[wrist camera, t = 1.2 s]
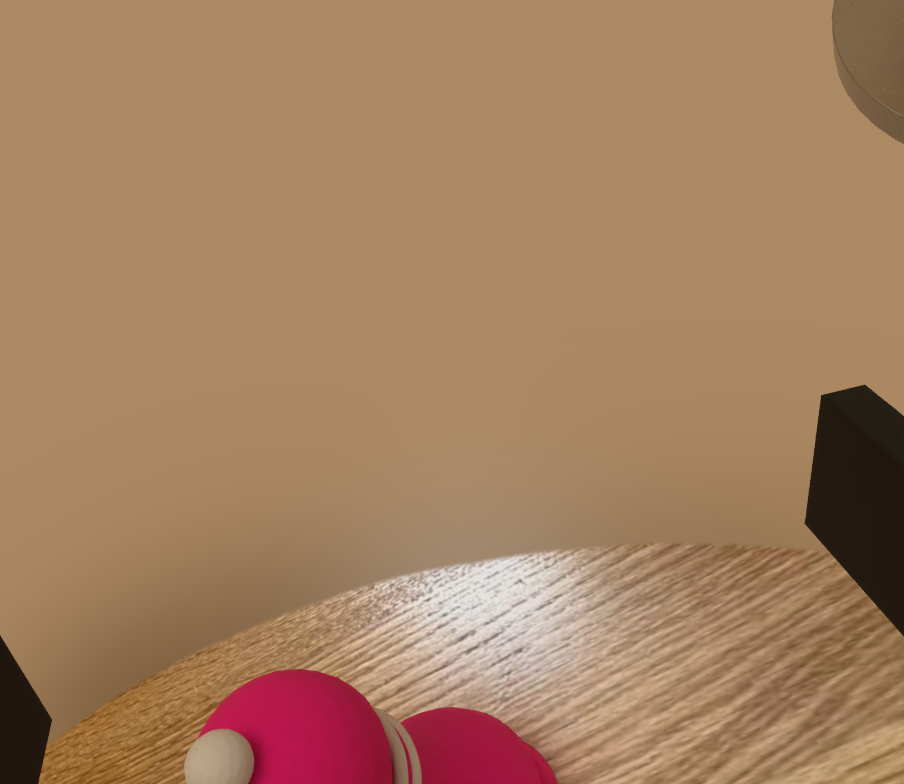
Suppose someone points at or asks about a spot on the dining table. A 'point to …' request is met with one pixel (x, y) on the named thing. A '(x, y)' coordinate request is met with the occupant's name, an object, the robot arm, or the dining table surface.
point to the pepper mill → (351, 740)
